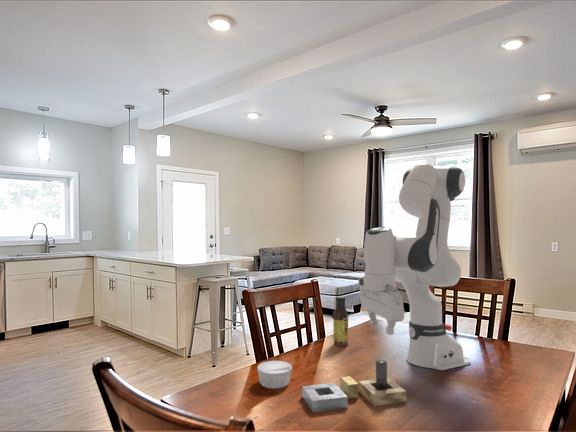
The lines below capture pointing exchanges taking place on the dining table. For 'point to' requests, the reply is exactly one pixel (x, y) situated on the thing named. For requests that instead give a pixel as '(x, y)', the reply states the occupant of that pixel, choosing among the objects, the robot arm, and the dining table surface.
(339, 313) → the sauce bottle
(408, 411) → the dining table surface
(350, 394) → the bar
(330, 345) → the dining table surface
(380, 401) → the block
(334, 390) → the socket plate
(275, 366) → the ramekin
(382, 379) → the dark grey rounded rod
